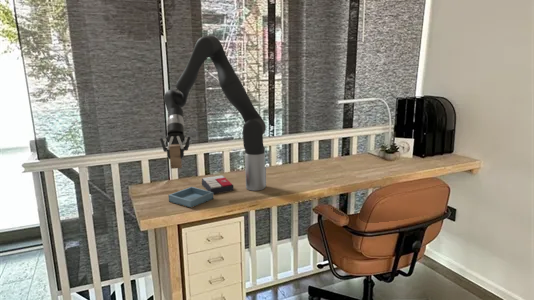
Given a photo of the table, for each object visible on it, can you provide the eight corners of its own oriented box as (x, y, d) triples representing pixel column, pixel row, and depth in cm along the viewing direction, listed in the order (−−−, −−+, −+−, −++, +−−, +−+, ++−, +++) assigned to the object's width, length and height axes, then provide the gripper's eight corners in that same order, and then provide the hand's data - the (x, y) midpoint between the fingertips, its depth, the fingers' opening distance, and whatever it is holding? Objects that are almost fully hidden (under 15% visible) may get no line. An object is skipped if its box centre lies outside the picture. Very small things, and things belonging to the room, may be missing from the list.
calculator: (211, 187, 180) (201, 177, 193) (211, 196, 181) (201, 185, 194) (233, 183, 184) (222, 174, 197) (233, 192, 186) (223, 182, 198)
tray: (192, 192, 183) (191, 186, 182) (213, 198, 175) (213, 192, 174) (168, 201, 172) (168, 194, 171) (190, 208, 164) (190, 201, 164)
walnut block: (171, 165, 180) (170, 144, 177) (182, 165, 180) (180, 143, 178) (171, 168, 175) (169, 146, 173) (181, 168, 176) (179, 146, 174)
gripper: (158, 122, 180) (157, 154, 171) (190, 121, 182) (191, 152, 173) (160, 131, 186) (160, 163, 177) (191, 130, 188) (192, 161, 179)
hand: (175, 158), depth 175 cm, fingers closed on walnut block, 4 cm apart
